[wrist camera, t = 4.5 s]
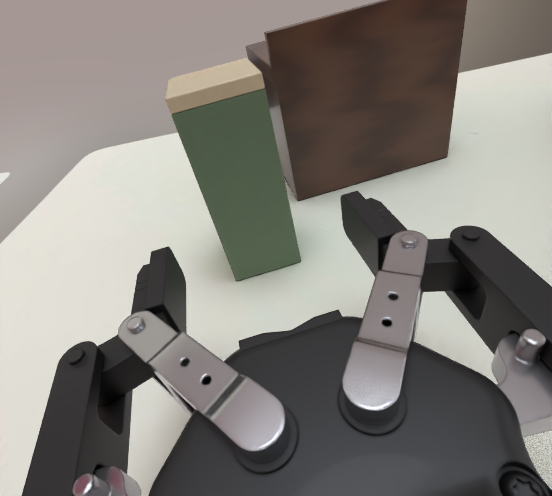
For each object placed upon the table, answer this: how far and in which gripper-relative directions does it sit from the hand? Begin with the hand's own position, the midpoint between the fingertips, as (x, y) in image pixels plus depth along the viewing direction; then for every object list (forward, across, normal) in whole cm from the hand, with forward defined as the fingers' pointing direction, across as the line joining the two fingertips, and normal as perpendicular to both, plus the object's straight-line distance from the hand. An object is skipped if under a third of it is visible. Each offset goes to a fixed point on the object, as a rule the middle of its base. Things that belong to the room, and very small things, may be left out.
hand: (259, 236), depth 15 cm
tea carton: (+8, 0, +8) cm, 11 cm away
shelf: (+22, -12, +8) cm, 26 cm away
